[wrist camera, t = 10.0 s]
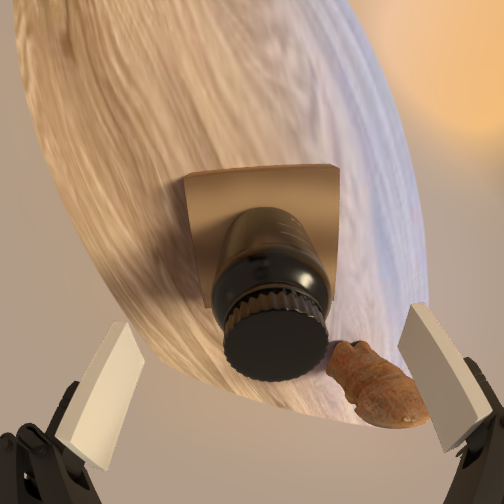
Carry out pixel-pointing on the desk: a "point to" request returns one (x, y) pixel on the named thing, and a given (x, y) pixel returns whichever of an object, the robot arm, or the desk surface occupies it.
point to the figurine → (376, 387)
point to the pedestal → (262, 195)
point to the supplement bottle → (271, 296)
